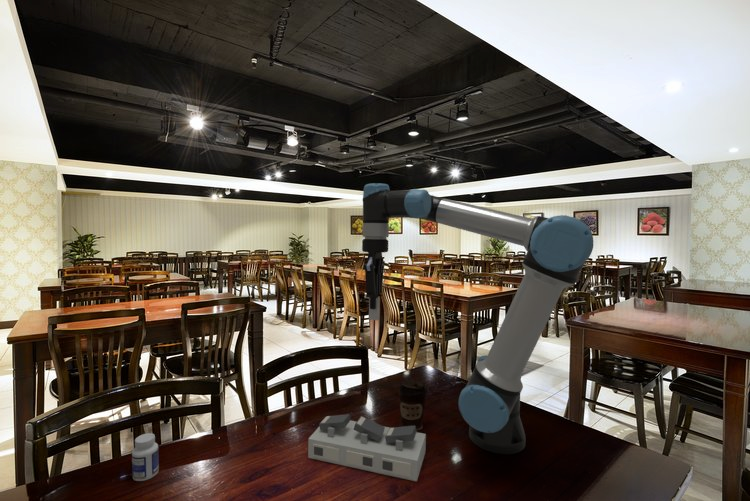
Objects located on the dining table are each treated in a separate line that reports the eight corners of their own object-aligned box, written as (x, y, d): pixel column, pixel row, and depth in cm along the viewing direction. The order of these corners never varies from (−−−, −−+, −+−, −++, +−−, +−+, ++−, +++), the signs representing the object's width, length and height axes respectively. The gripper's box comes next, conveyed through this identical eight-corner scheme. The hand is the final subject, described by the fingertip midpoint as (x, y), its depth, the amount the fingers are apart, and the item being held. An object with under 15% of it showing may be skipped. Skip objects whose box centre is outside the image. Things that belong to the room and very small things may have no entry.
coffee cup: (425, 435, 105) (426, 391, 105) (396, 432, 107) (397, 388, 106) (427, 420, 114) (428, 379, 113) (400, 417, 116) (401, 376, 115)
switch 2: (382, 435, 97) (385, 426, 97) (377, 445, 92) (380, 436, 92) (358, 423, 99) (361, 414, 99) (352, 433, 94) (354, 424, 94)
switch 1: (351, 422, 99) (349, 413, 100) (344, 432, 95) (342, 422, 95) (328, 424, 102) (326, 415, 102) (320, 434, 97) (318, 424, 97)
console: (425, 452, 97) (426, 425, 97) (416, 482, 85) (417, 452, 85) (327, 433, 106) (328, 408, 105) (307, 458, 94) (307, 431, 93)
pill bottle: (153, 464, 91) (153, 429, 90) (162, 473, 87) (162, 436, 87) (128, 475, 86) (128, 438, 86) (137, 485, 83) (136, 446, 83)
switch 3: (417, 434, 94) (415, 424, 94) (414, 445, 89) (411, 434, 89) (392, 436, 96) (389, 426, 96) (387, 447, 91) (384, 436, 92)
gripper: (370, 237, 114) (368, 313, 115) (355, 238, 101) (354, 323, 102) (393, 238, 111) (392, 315, 113) (381, 238, 99) (379, 325, 100)
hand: (373, 319), depth 107 cm, fingers closed
